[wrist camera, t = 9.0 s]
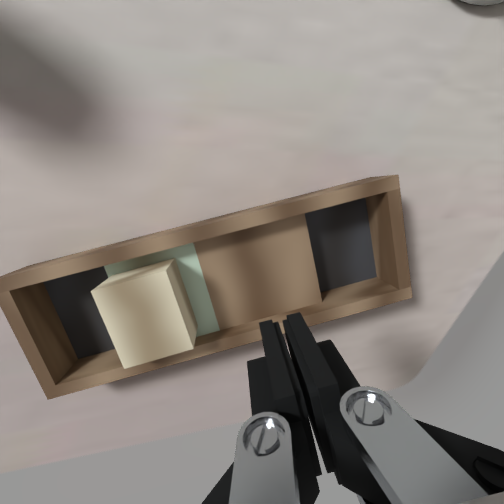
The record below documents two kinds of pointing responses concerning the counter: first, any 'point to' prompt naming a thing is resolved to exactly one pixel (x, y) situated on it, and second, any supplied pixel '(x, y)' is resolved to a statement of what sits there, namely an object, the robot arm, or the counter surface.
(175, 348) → the maple block
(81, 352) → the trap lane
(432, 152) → the counter surface
